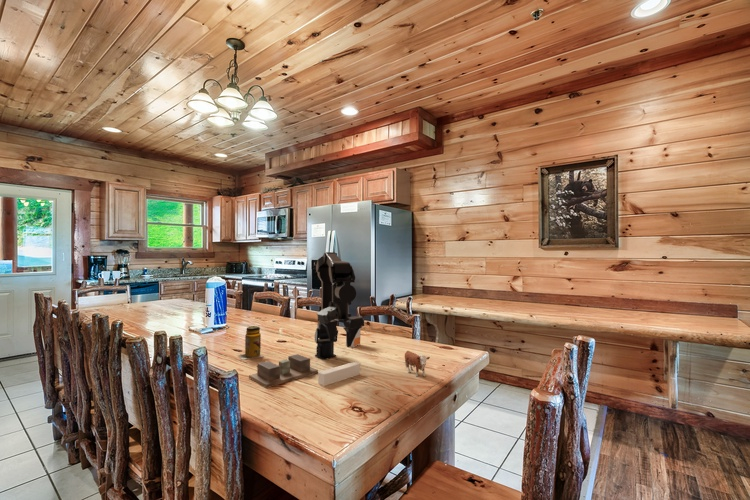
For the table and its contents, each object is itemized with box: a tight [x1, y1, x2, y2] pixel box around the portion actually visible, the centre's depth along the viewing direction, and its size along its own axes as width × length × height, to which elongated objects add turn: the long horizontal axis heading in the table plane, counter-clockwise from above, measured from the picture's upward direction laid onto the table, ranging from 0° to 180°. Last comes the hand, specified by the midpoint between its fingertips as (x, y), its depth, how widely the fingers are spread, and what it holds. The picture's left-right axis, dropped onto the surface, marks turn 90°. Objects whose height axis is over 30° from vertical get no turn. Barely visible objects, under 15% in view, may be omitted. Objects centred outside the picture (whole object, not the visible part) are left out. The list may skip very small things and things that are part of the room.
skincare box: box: [345, 328, 362, 348], centre depth 162 cm, size 6×4×12 cm
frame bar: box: [317, 361, 361, 387], centre depth 119 cm, size 16×3×4 cm, turn 135°
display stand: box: [248, 353, 319, 389], centre depth 121 cm, size 20×12×5 cm, turn 135°
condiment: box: [237, 325, 264, 361], centre depth 144 cm, size 7×8×12 cm
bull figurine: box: [404, 350, 431, 378], centre depth 123 cm, size 4×13×8 cm, turn 25°
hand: (340, 344), depth 119 cm, fingers open, 9 cm apart
